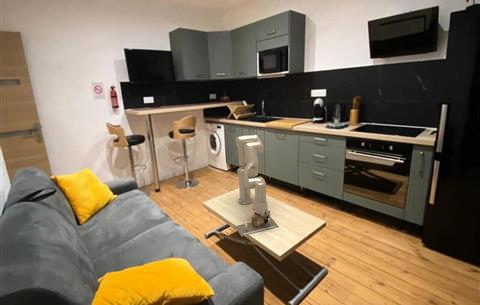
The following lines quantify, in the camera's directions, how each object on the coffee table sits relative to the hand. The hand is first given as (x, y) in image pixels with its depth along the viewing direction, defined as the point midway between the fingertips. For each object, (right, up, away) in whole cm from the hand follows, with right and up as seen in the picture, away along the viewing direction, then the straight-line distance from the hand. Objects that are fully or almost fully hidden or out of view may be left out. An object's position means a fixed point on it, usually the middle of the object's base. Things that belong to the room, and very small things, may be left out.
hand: (261, 220), depth 169 cm
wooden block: (0, -3, +1) cm, 3 cm away
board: (-3, -5, -2) cm, 6 cm away
